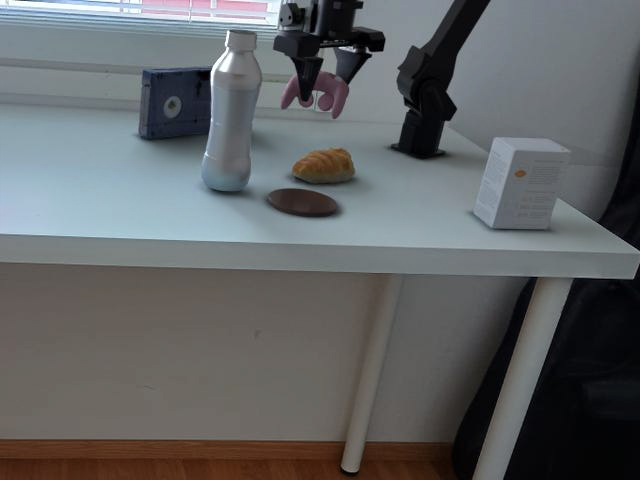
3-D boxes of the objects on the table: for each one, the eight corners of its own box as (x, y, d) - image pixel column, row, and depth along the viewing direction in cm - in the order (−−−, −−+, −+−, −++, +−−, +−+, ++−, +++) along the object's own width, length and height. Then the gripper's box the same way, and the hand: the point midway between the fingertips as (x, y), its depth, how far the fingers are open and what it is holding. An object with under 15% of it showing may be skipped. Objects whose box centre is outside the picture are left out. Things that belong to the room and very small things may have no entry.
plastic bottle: (234, 200, 111) (256, 39, 100) (189, 188, 113) (206, 30, 103) (256, 188, 115) (278, 33, 105) (212, 176, 118) (230, 25, 108)
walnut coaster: (302, 188, 117) (303, 184, 117) (350, 210, 111) (351, 206, 111) (253, 197, 112) (254, 193, 112) (301, 221, 106) (302, 216, 106)
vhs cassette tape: (229, 125, 142) (237, 63, 137) (240, 130, 140) (248, 68, 135) (135, 134, 133) (140, 68, 128) (145, 139, 131) (150, 73, 126)
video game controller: (343, 124, 133) (355, 78, 132) (337, 118, 129) (349, 71, 127) (284, 113, 136) (295, 68, 135) (276, 107, 132) (287, 61, 131)
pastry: (313, 189, 117) (318, 162, 115) (278, 175, 122) (282, 148, 120) (357, 179, 123) (362, 153, 121) (322, 166, 127) (326, 140, 125)
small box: (526, 214, 115) (550, 138, 110) (547, 230, 111) (574, 151, 105) (471, 213, 114) (493, 135, 109) (490, 229, 109) (514, 148, 104)
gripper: (343, -18, 135) (325, 83, 142) (255, -17, 124) (241, 91, 132) (397, -7, 127) (375, 99, 135) (309, -5, 117) (291, 109, 125)
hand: (320, 99), depth 132 cm, fingers closed on video game controller, 7 cm apart
